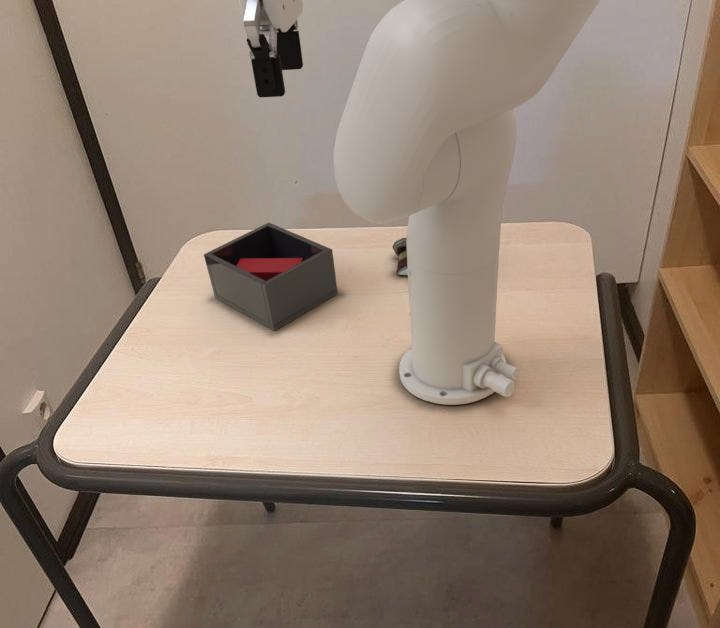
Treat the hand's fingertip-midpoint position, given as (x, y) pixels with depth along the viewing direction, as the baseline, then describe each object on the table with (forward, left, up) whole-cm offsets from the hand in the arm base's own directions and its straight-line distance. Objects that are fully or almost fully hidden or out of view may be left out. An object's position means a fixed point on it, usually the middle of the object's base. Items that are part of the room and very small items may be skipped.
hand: (281, 81), depth 85 cm
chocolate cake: (-12, -12, -26) cm, 31 cm away
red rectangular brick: (+1, +6, -26) cm, 26 cm away
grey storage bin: (+1, +6, -26) cm, 27 cm away
